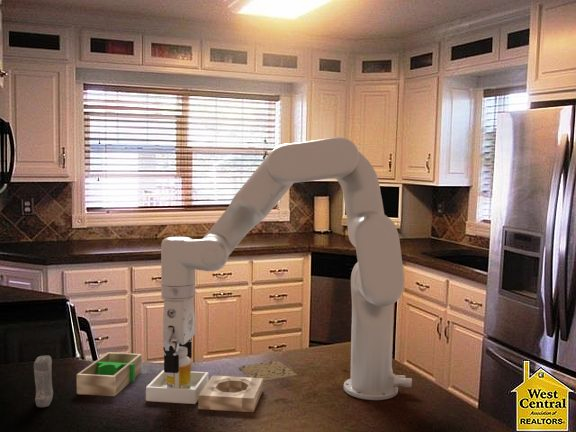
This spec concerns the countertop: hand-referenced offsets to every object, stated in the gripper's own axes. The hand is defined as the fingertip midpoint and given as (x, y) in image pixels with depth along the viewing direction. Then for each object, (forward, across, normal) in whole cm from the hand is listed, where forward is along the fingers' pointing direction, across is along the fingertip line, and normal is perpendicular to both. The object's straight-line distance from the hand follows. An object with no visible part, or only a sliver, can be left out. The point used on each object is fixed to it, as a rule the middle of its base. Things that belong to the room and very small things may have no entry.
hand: (178, 365), depth 128 cm
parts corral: (+6, +4, +18) cm, 20 cm away
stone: (+7, -10, +27) cm, 30 cm away
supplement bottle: (+6, 0, 0) cm, 6 cm away
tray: (+6, 0, 0) cm, 6 cm away
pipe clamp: (+7, +4, +18) cm, 20 cm away
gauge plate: (+6, -2, -13) cm, 15 cm away
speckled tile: (+7, +17, -18) cm, 26 cm away
